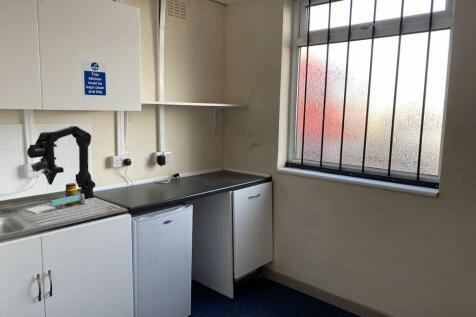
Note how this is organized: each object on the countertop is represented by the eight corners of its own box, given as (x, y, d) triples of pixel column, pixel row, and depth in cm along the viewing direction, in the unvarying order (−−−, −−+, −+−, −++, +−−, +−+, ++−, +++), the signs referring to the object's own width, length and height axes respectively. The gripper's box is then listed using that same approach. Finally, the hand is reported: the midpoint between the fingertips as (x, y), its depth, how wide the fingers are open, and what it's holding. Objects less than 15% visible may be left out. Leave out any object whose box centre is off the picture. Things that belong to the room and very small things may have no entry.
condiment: (80, 205, 204) (79, 184, 202) (64, 207, 198) (63, 186, 197) (75, 202, 209) (74, 182, 208) (60, 205, 204) (58, 184, 202)
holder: (73, 201, 212) (73, 191, 211) (85, 204, 205) (84, 193, 205) (53, 205, 202) (52, 195, 201) (65, 209, 196) (64, 198, 195)
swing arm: (79, 199, 204) (79, 194, 204) (80, 199, 203) (80, 194, 203) (51, 205, 191) (50, 200, 190) (52, 206, 190) (52, 200, 190)
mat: (46, 205, 202) (46, 204, 202) (56, 209, 196) (56, 207, 196) (25, 210, 193) (25, 209, 193) (36, 213, 187) (35, 212, 187)
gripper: (24, 156, 192) (26, 184, 194) (41, 158, 182) (43, 189, 184) (45, 154, 201) (47, 181, 203) (63, 156, 191) (65, 185, 193)
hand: (50, 184), depth 196 cm, fingers closed
